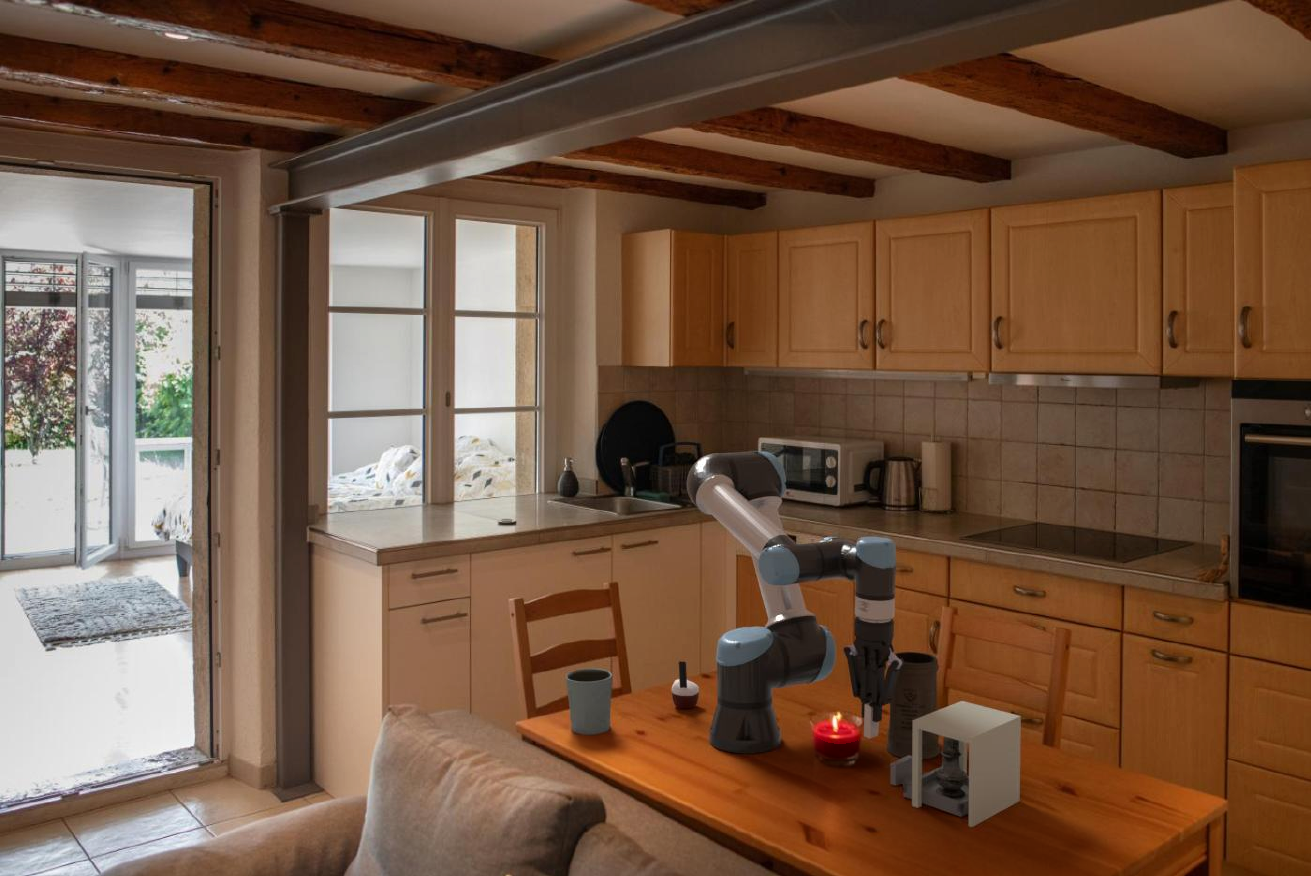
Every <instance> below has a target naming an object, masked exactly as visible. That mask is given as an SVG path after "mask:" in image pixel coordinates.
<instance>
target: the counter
mask: <svg viewBox="0 0 1311 876" xmlns="http://www.w3.org/2000/svg"><path fill="white" fill-rule="evenodd" d="M1021 718H1022V717H1021V715H1017V714H1013V713H1010V712H1006V711H1002V710H998V709H995V708H991V707H987V706H985V705H980V704H976V703H971V702H968V701H964V700H960V701H958V702H956V703H955V702H954V703H953V704H950V705H948V706H946V707H943V708H940V709H937V711H935V712H932V713H930V714H927V715H925V716H922V717H920V718H917V719H915V720H913V735H912V799H911V806H912V807H914V808H918V809H919V808H920V807H922V804H923V803H922V775H923V759H922V730H925V731H928V732H931V733H935V734H938V735H939V736H942V737H943V736H945V737H948V738H952V739H955V740H959V752H960V753H961V756H959V766H960V770H962V771H964V772H966V773H967V772H968V773H967V774H968V776H969V813H968V827H969V828H974V827H975V826H976V825H977V826H978V824H980V823H982V822H984V821H986V820H987V819H989V818H992V817H993V816H995V815H996V814H999V813H1000V812H1002V811H1004V810H1006V809H1008V808H1009V807H1011V806H1013V805H1015V804H1017V803H1019V802H1020V800H1021V799H1020V796H1021V795H1020V793H1021V792H1020V791H1021V789H1020V788H1021V785H1020V784H1021V731H1022V730H1021V729H1022V728H1021V726H1022V725H1021V724H1022V723H1021V722H1022V721H1021V720H1022V719H1021ZM968 745H969V746H968ZM968 748H969V749H968ZM968 751H969V752H968ZM968 754H969V755H968ZM968 757H969V758H968ZM967 760H968V761H967ZM967 767H968V768H967ZM967 769H968V770H967Z"/></svg>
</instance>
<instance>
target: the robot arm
mask: <svg viewBox="0 0 1311 876" xmlns="http://www.w3.org/2000/svg"><path fill="white" fill-rule="evenodd" d="M786 476H787V475H786V472H785V469H784V467H783V464H782V463H781V461H780V460H779V459H778V458H777V456H776V455H774V454H772V453H770V452H769V451H757V450H748V451H738V452H736V451H735V452H723V453H722V452H719V453H718V452H716V453H709V454H707V455H705V456H702V457H700V458H699V459H698V460H697V461H696V462H695V463H694V464H693V465H692V466H691V468H690V470H689V472H688V474H687V478H686V490H687V494H688V497H689V498H690V500H691V502H692V504H694V506H695V507H696V508H697V509H698V510H700V512H702V513H703V514H705V515H711V516H713V518H715V520H717V521H718V522H719V523H720V524H721V525H722V526H723V527H724V528H725V529H726V531H728V532H730V534H731V535H732V536H733V537H734V538H735V539H737V540H738V541H739V542H740V543H741V544H742V545H743V546H744V547H745V548H746V549H747V550H748V551H749V552H750V556H751V561H752V563H753V567H754V571H755V574H756V578H757V581H758V586H759V589H760V593H761V596H762V600H763V604H764V607H765V611H766V615H767V618H768V619H767V623H766V624H765V626H764V627H763V626H750V627H749V626H744V627H738V628H734V629H731V630H728V631H726V632H725V633H724V634H722V635H721V636H720V638H719V639H718V641H717V648H716V650H717V651H716V655H715V659H716V670H717V671H716V683H717V684H716V685H717V689H716V690H717V692H716V694H717V700H716V701H717V705H716V708H715V711H714V715H713V719H712V722H711V725H710V727H709V734H708V735H709V739H708V740H709V743H710V745H712V746H713V747H714V748H716V749H718V750H721V751H725V752H729V753H735V754H758V753H759V754H760V753H765V752H768V751H769V752H770V751H772V750H774V749H777V748H778V747H779V746H780V745H781V743H782V731H781V728H780V726H779V724H778V720H777V716H776V713H775V709H774V706H773V690H776V689H779V688H780V689H782V688H787V687H793V686H796V685H803V684H807V685H809V684H812V683H814V682H818V681H822V680H824V679H826V678H827V677H829V675H830V674H831V672H832V671H833V669H834V666H835V663H836V658H837V647H836V642H835V638H834V636H833V634H832V632H831V631H830V630H829V628H828V627H826V626H825V625H821V624H820V625H819V624H818V620H817V617H816V614H814V613H812V612H811V611H809V610H808V609H807V608H806V603H805V600H804V597H803V593H802V589H801V586H800V584H801V583H808V582H818V581H825V580H834V579H845V580H847V581H851V582H854V583H855V589H854V595H855V596H854V597H855V599H854V615H855V616H856V617H855V618H854V622H853V623H854V626H853V628H854V629H853V630H854V631H853V633H854V634H853V635H854V637H855V639H854V640H853V644H851V645H847V646H844V647H843V653H844V655H845V657H846V659H847V664H848V665H847V667H848V672H849V678H850V683H851V684H850V685H851V689H852V690H851V691H852V695H853V697H854V698H858V699H859V700H860V702H861V718H862V719H863V737H864V738H868V739H869V740H870V739H873V738H875V737H877V736H879V733H880V732H879V730H880V729H879V728H880V727H879V726H880V725H879V724H880V722H881V721H882V719H883V706H886V705H888V704H889V705H890V703H891V702H892V698H893V694H894V690H895V686H896V682H897V678H898V674H899V670H900V669H901V667H902V666H903V664H904V659H902V658H900V659H899V658H898V657H897V656H896V655H895V652H894V651H895V648H894V646H893V639H894V636H895V621H894V620H893V619H894V618H895V611H896V610H895V609H896V607H895V606H896V605H895V604H896V596H895V595H896V574H897V573H896V572H897V571H896V570H897V563H898V560H897V548H896V546H897V545H896V543H895V542H894V540H893V539H891V538H888V537H880V536H862V537H860V538H858V539H857V541H856V542H855V541H852V540H848V539H847V538H844V537H840V536H839V537H837V536H826V537H824V538H823V539H822V540H821V539H820V541H819V542H818V541H817V542H807V543H797V542H795V540H793V539H792V538H791V537H790V536H789V535H787V534H786V533H785V531H784V527H783V524H782V521H781V517H780V513H779V508H780V506H781V504H782V502H783V499H782V497H783V496H784V495H785V492H786V488H787V485H786V483H787V477H786ZM887 666H889V667H887ZM885 671H886V673H885Z"/></svg>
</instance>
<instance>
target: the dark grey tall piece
mask: <svg viewBox="0 0 1311 876" xmlns="http://www.w3.org/2000/svg"><path fill="white" fill-rule="evenodd" d="M940 755H941V756H942V757H941V758H942V761H941V762H942V763H941V766H940V767H941V768H939V767H938V769H937V768H935V769H936V770H935V769H934V770H935V771H934V774H935V776H936V780H937V782H938V784H939V785H940V786H941V787H939V788H937V789H936V793H937V794H940V795H943V796H946V797H949V798H951V799H957V798H962V797H964V796H965V794H966V793H965V791H963V790H962V789H961V787H962V786H963V785H964V783H965V780H966V778H967V776H968V773H966V772H964V771H962V770H960V766H959V756H961V753H960V752H959V740H955V739H952V738H948V737H945V736H942V750H940Z"/></svg>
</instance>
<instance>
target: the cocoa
mask: <svg viewBox="0 0 1311 876" xmlns="http://www.w3.org/2000/svg"><path fill="white" fill-rule="evenodd" d="M687 678H688V677H687V662H686V661H680V660H679V661H678V679H675V680H674V682H673V684H672V686H671V697H672V701H673V704H674V705H675V707H676V708H678V709H680V710H690V708H691V709H693V708H695V706H697V704H698V701H699V696H700V695H699V694H700V692H699V691H700V687H699V686H698V684H696V683H694V682H693V681H691V680H689V679H687Z"/></svg>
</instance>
